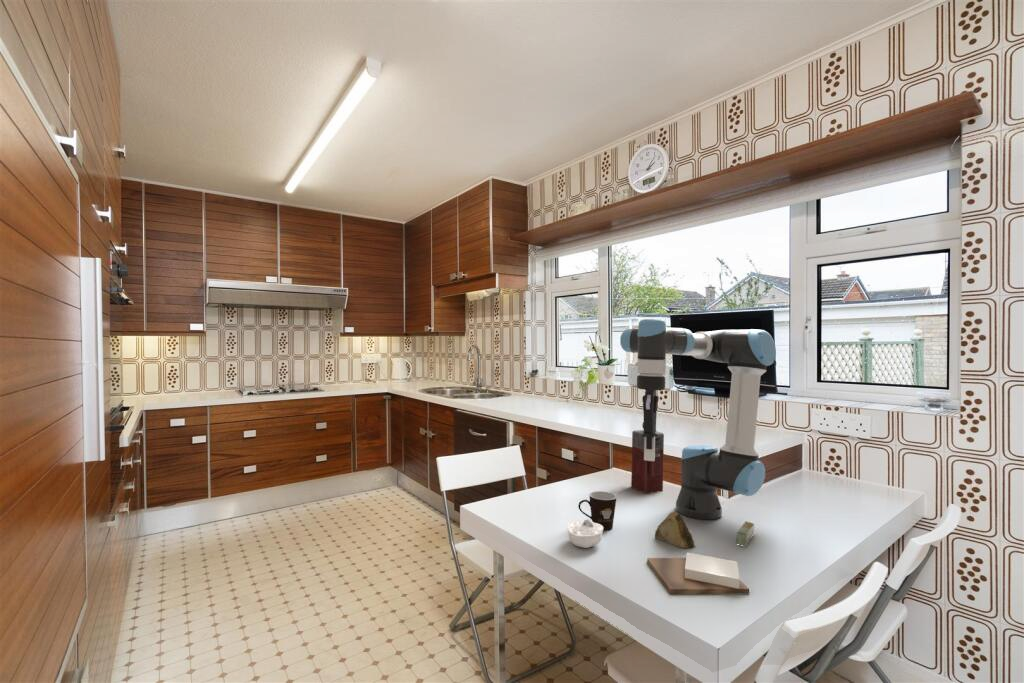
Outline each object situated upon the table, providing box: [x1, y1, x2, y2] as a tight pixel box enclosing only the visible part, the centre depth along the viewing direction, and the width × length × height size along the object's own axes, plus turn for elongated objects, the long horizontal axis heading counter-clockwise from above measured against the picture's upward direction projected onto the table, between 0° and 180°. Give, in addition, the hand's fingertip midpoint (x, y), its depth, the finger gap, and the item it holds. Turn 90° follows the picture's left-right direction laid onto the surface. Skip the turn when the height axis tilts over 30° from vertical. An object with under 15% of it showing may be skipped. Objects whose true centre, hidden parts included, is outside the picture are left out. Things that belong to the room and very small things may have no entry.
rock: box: [654, 511, 696, 549], centre depth 140 cm, size 11×9×10 cm
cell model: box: [567, 518, 604, 549], centre depth 136 cm, size 10×12×7 cm
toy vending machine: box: [630, 421, 665, 494], centre depth 190 cm, size 9×11×28 cm
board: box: [646, 557, 750, 595], centre depth 118 cm, size 19×16×1 cm
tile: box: [685, 552, 740, 589], centre depth 117 cm, size 2×10×12 cm
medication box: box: [735, 520, 755, 547], centre depth 142 cm, size 12×3×4 cm, turn 143°
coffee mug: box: [577, 490, 618, 532], centre depth 150 cm, size 12×9×10 cm
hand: (649, 460), depth 130 cm, fingers closed
